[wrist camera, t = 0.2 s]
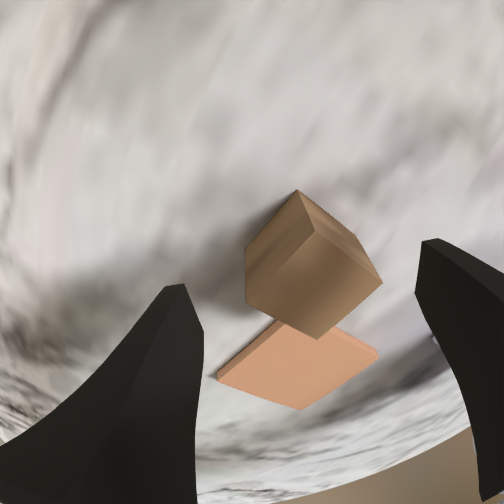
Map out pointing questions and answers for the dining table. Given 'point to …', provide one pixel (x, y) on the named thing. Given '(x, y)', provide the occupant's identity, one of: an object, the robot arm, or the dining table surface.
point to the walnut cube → (307, 268)
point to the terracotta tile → (296, 365)
